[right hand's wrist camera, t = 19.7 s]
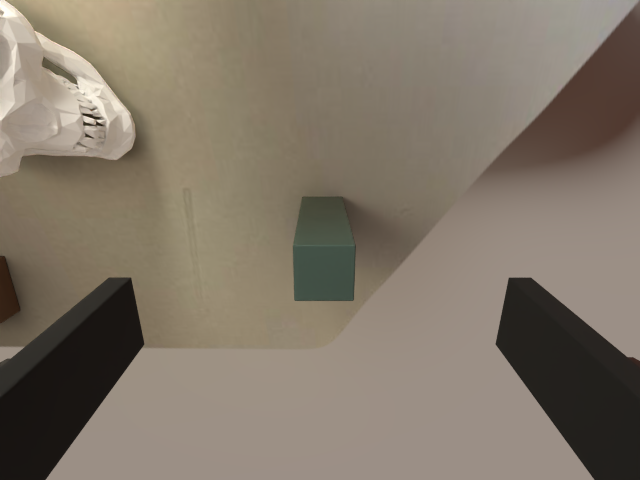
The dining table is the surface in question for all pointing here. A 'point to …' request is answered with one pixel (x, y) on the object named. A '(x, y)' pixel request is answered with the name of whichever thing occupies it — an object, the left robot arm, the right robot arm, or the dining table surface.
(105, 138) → the skull
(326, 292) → the peg
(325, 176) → the dining table surface
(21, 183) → the dining table surface
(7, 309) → the walnut base
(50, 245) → the dining table surface
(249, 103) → the dining table surface
